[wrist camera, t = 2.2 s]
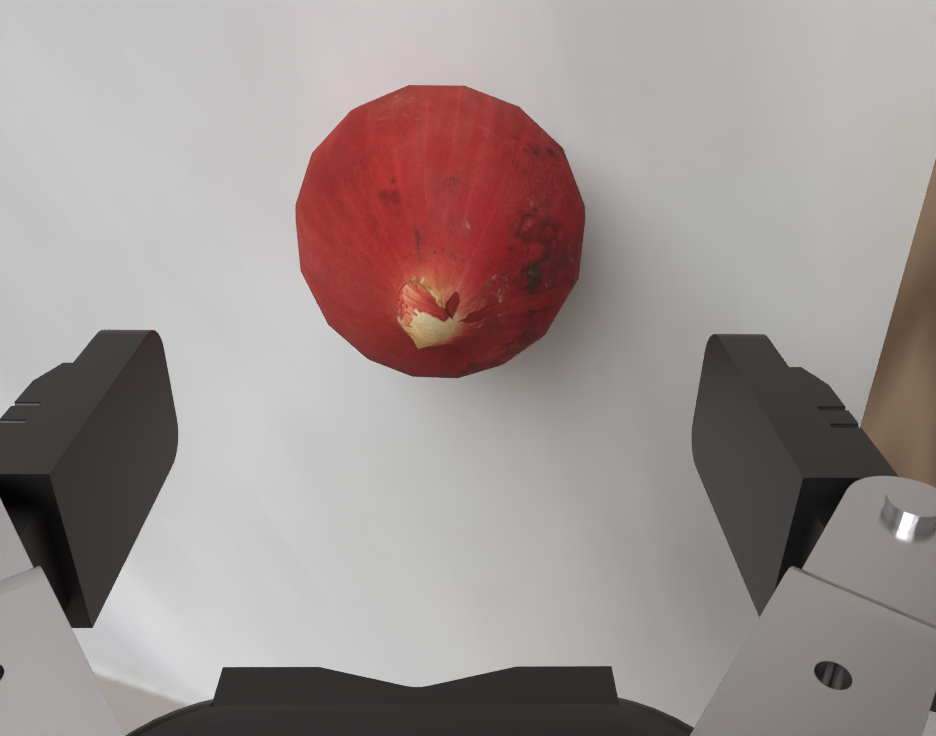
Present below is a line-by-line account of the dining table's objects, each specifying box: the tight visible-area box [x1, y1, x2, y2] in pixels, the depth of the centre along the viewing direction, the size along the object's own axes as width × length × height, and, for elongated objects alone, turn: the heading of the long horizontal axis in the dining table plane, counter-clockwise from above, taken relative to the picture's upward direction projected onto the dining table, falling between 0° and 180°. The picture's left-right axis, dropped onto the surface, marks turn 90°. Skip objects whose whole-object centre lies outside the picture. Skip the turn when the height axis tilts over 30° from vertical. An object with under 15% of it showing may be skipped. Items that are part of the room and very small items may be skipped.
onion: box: [296, 85, 585, 378], centre depth 17 cm, size 6×6×8 cm
